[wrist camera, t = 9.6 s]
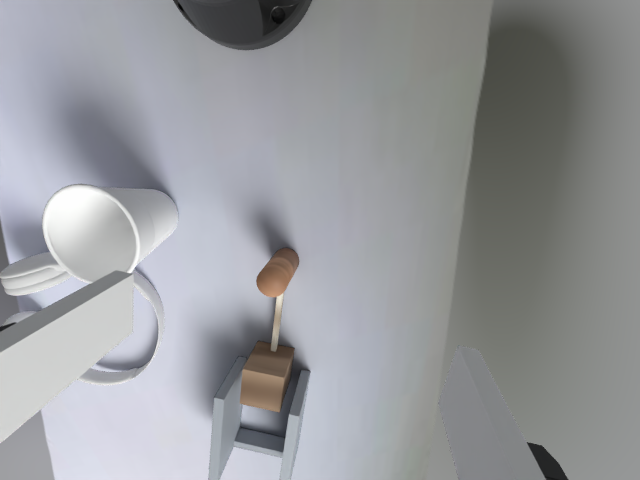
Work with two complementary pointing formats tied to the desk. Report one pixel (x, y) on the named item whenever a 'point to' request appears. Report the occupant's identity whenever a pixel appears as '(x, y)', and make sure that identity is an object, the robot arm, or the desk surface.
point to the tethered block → (270, 358)
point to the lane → (232, 435)
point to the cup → (105, 228)
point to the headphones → (48, 273)
